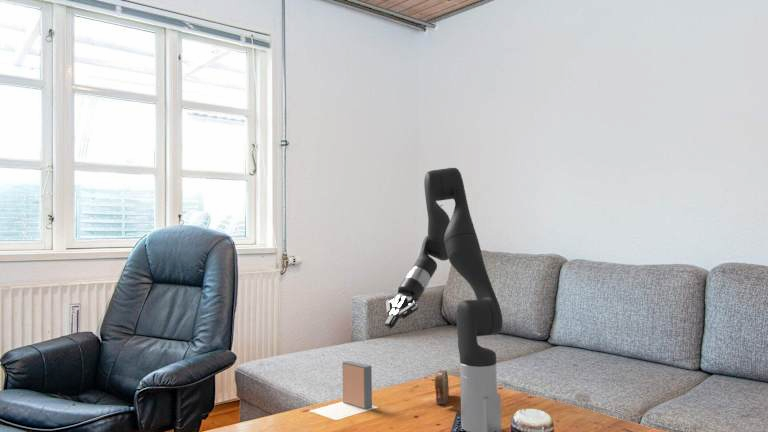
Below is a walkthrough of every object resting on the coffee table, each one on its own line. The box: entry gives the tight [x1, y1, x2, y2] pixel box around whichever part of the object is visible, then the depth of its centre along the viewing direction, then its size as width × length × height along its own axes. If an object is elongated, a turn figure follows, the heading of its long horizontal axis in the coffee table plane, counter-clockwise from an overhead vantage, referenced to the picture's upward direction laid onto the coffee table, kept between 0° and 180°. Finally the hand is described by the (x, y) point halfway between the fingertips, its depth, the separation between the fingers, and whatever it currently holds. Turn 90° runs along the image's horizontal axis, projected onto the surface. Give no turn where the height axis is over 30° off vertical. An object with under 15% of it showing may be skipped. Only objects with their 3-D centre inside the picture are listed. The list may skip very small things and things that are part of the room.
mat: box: [309, 401, 379, 421], centre depth 160 cm, size 12×16×1 cm
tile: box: [342, 360, 373, 410], centre depth 164 cm, size 10×3×12 cm, turn 44°
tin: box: [434, 369, 450, 405], centre depth 169 cm, size 15×3×8 cm, turn 168°
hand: (388, 326), depth 171 cm, fingers closed
